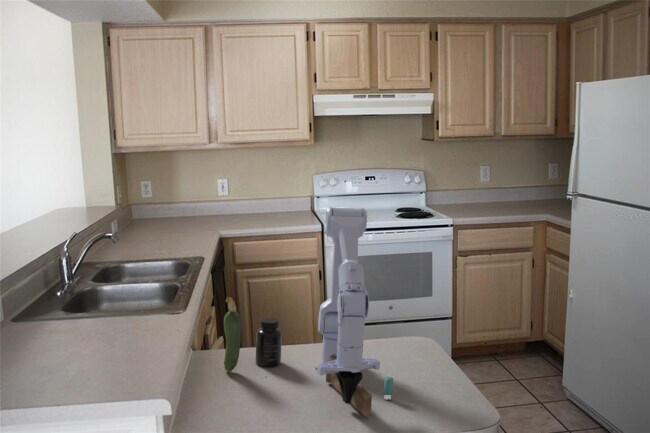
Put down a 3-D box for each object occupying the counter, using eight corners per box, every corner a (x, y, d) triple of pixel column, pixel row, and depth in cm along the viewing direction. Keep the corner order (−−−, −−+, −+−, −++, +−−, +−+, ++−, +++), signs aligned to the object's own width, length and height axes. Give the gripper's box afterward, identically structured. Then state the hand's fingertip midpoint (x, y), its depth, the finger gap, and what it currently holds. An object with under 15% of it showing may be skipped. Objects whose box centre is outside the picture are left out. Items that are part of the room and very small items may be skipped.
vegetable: (240, 370, 151) (243, 294, 148) (238, 376, 147) (241, 299, 144) (223, 369, 151) (225, 294, 148) (220, 376, 147) (223, 298, 144)
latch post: (385, 396, 140) (386, 376, 140) (393, 398, 139) (394, 378, 139) (381, 399, 139) (383, 379, 138) (389, 401, 138) (391, 381, 137)
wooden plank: (324, 379, 146) (325, 358, 145) (333, 378, 147) (334, 357, 146) (362, 417, 127) (364, 393, 127) (372, 415, 128) (373, 391, 128)
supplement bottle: (252, 359, 159) (254, 316, 157) (276, 357, 161) (278, 315, 159) (258, 369, 152) (260, 324, 151) (283, 367, 155) (286, 323, 153)
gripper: (326, 353, 124) (323, 413, 125) (387, 347, 129) (383, 405, 131) (315, 341, 130) (311, 399, 132) (373, 336, 136) (369, 392, 137)
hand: (346, 401), depth 132 cm, fingers closed
